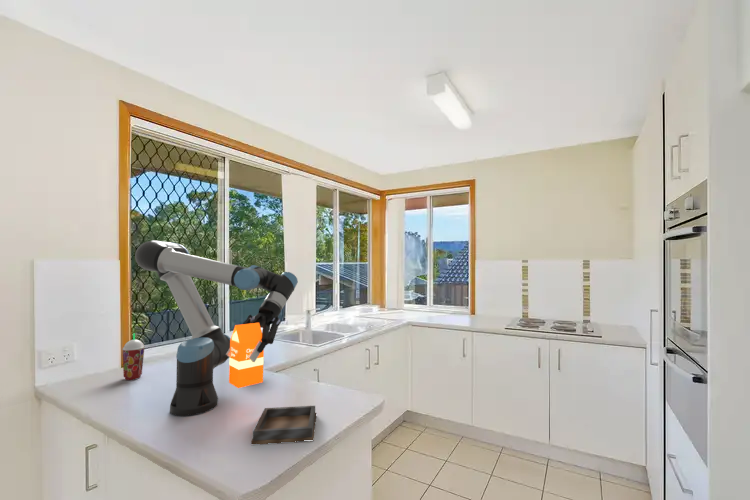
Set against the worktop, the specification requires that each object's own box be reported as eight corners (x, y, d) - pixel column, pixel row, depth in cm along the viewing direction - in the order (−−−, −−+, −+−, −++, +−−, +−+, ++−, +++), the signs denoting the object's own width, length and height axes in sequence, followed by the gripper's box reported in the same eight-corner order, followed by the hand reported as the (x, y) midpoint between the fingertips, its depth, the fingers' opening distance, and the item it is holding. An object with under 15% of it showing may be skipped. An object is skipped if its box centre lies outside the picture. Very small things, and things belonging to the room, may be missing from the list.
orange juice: (228, 382, 119) (230, 323, 120) (253, 376, 125) (254, 321, 126) (238, 388, 113) (239, 326, 114) (263, 382, 120) (264, 323, 121)
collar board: (251, 445, 97) (251, 432, 97) (263, 418, 114) (263, 407, 114) (313, 441, 99) (313, 428, 99) (316, 415, 116) (316, 405, 116)
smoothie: (148, 375, 160) (149, 331, 161) (134, 381, 152) (135, 335, 153) (131, 375, 161) (132, 331, 162) (116, 380, 153) (118, 335, 154)
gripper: (300, 314, 130) (271, 368, 115) (254, 310, 139) (221, 360, 124) (292, 301, 125) (260, 355, 110) (245, 298, 134) (209, 348, 119)
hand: (239, 358), depth 117 cm, fingers closed on orange juice, 9 cm apart
